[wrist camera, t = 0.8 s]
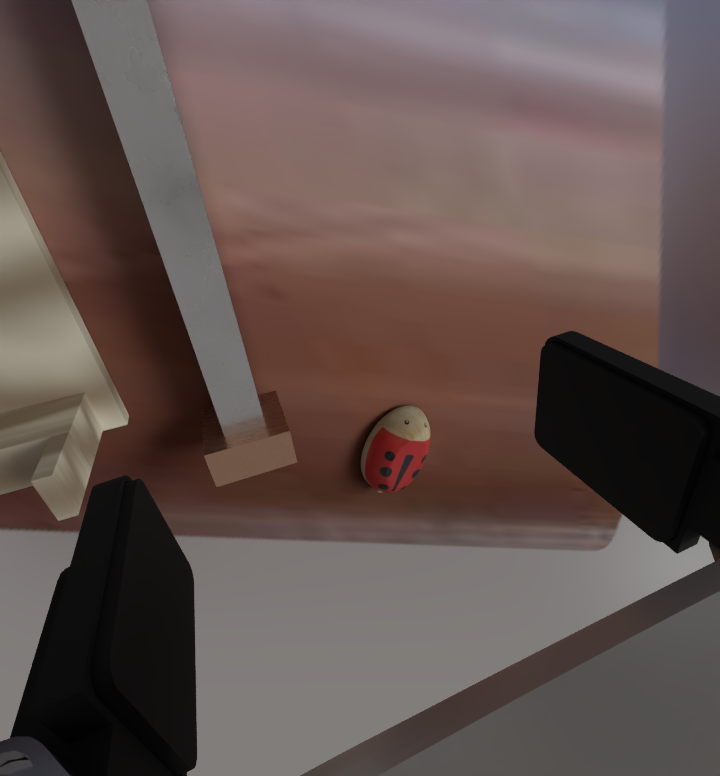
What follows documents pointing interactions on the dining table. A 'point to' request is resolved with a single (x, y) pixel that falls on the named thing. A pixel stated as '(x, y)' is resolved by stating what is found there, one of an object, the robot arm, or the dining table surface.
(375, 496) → the dining table surface
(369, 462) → the ladybug figurine
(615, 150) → the dining table surface
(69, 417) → the hanger stand
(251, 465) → the steel bar
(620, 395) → the robot arm
